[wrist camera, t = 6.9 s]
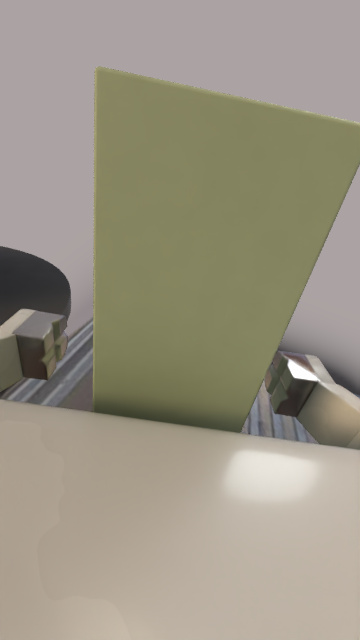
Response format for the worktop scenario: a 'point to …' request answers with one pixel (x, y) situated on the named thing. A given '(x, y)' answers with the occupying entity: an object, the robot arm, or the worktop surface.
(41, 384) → the worktop surface
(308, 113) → the back pad
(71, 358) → the worktop surface
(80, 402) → the worktop surface
